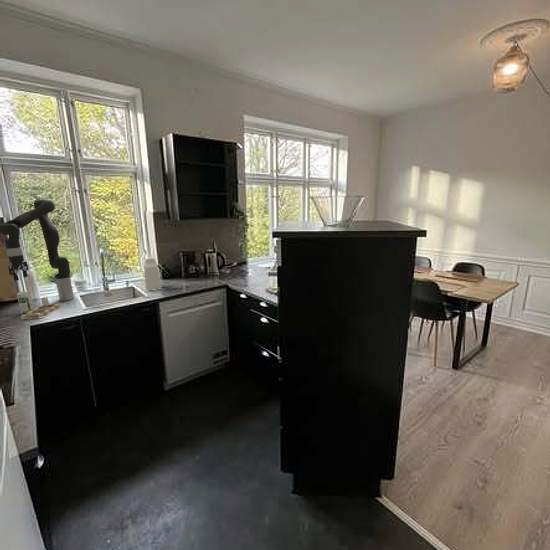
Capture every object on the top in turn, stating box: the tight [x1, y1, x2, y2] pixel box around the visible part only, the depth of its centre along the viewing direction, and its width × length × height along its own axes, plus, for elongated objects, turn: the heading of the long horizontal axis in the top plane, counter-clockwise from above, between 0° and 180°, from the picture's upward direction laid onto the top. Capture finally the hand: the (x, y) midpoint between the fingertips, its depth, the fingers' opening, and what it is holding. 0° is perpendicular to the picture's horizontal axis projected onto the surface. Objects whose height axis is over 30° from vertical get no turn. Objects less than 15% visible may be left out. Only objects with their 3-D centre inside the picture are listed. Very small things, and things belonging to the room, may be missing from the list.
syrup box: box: [16, 290, 35, 315], centre depth 207 cm, size 6×6×14 cm
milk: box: [144, 257, 162, 291], centre depth 254 cm, size 12×12×26 cm
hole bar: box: [20, 303, 62, 321], centre depth 206 cm, size 23×12×2 cm, turn 9°
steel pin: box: [40, 296, 50, 309], centre depth 210 cm, size 4×4×9 cm
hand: (21, 278), depth 202 cm, fingers open, 8 cm apart
